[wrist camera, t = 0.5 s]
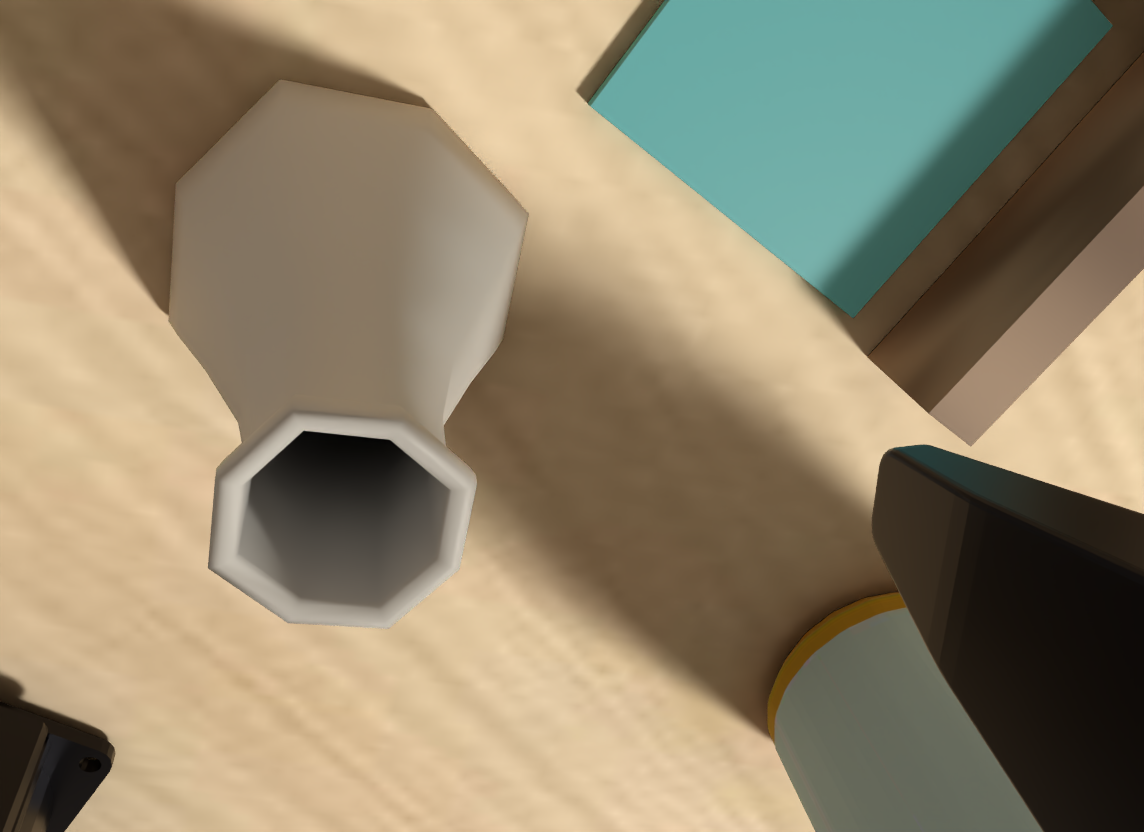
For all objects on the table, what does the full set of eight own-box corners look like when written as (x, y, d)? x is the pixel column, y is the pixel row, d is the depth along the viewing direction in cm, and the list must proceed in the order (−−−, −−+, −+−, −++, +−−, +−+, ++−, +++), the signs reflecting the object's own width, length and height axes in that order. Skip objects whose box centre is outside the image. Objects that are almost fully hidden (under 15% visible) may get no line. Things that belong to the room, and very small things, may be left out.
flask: (109, 333, 21) (-74, 656, 12) (254, 7, 18) (159, 109, 10) (425, 463, 23) (464, 803, 15) (584, 192, 21) (743, 403, 12)
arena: (906, 388, 25) (970, 446, 22) (404, -9, 19) (411, 8, 16) (1268, -1, 22) (1390, 13, 19) (813, -624, 16) (904, -727, 13)
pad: (847, 313, 24) (852, 318, 23) (587, 103, 20) (590, 106, 20) (1103, 24, 21) (1113, 26, 21) (860, -263, 18) (868, -266, 18)
